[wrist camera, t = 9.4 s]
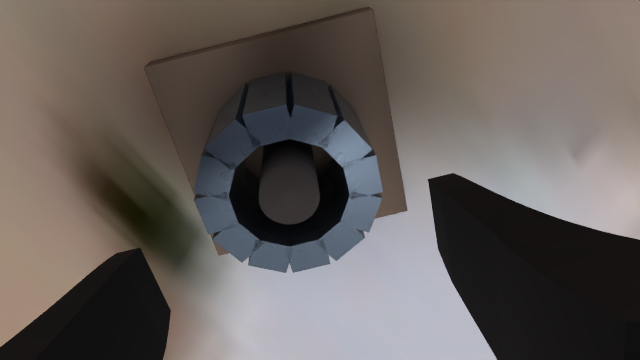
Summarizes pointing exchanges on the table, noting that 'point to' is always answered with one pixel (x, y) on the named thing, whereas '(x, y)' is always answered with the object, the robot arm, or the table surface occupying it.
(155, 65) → the shaft base
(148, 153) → the table surface
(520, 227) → the robot arm
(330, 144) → the collar
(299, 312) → the table surface
